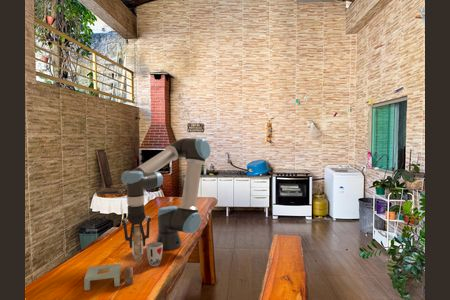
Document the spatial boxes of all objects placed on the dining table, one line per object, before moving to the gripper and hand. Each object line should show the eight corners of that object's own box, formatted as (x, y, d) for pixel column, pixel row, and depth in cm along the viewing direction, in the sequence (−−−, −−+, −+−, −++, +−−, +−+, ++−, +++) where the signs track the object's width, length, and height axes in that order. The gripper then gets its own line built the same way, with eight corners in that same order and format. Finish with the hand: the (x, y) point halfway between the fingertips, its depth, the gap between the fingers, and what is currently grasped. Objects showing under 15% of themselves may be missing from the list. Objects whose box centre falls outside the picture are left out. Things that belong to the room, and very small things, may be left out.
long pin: (141, 257, 147) (140, 225, 146) (141, 260, 144) (140, 227, 142) (134, 258, 146) (133, 225, 145) (134, 261, 143) (132, 228, 142)
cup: (148, 268, 151) (147, 248, 151) (145, 262, 159) (145, 243, 158) (164, 265, 154) (164, 246, 154) (161, 259, 162) (160, 241, 161)
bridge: (120, 273, 145) (120, 263, 145) (119, 285, 134) (119, 274, 134) (89, 277, 142) (88, 267, 141) (84, 290, 130) (84, 278, 130)
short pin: (133, 281, 138) (132, 266, 138) (132, 285, 135) (132, 269, 134) (125, 282, 137) (124, 267, 137) (124, 286, 134) (124, 270, 134)
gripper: (153, 201, 149) (155, 248, 150) (117, 204, 144) (120, 252, 146) (154, 204, 141) (156, 254, 143) (116, 208, 137) (119, 259, 139)
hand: (137, 253), depth 145 cm, fingers closed on long pin, 3 cm apart
